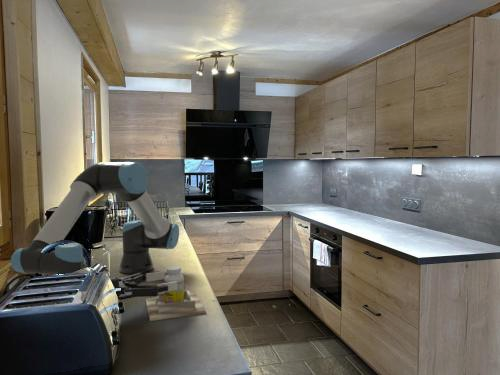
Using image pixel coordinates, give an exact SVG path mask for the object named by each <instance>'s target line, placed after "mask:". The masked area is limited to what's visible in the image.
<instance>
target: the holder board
mask: <svg viewBox="0 0 500 375" xmlns="http://www.w3.org/2000/svg"><path fill="white" fill-rule="evenodd" d="M145 304H146V308H147V313H148V320H149V321H150V322H152V321H158V320H159V321H161V320H167V319H173V318H175V319H176V318H181V317H188V316H195V315H196V316H197V315H203V314H207V311H206V310H207V309H205V306H204V305H203V304H202V302H201V300H200V299H199V297H198V295H197V294H196V293H195V292H194V293H193V292H192V293H191V292H190V289H187V290H186V289H184V301H183V302H175V303H167V304H165V298H164V292H163V293H158V296H157V297H155V296H154V297H151V298H145Z"/></svg>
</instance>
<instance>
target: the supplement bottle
mask: <svg viewBox="0 0 500 375" xmlns="http://www.w3.org/2000/svg"><path fill="white" fill-rule="evenodd" d="M181 272H182V268H181V266H179V265H178V266H177V265H175V266H174V265H173V266H168V267H167V268H166V273H167V274H165V278H164V279H163V281H164V282H163V283H168V282H174V281H177V290H174V291H168V292H163V293H164V298H165V304H167V303H175V302H183V301H184V290H185V277H184V275H183V274H182V273H181Z"/></svg>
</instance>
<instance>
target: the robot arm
mask: <svg viewBox="0 0 500 375" xmlns="http://www.w3.org/2000/svg"><path fill="white" fill-rule="evenodd" d="M148 185H149V177H148V172H147V170H146V168H145V167H144V166H143V164H141V163H139V162H135V161H134V162H132V161H123V162H122V161H117V162H116V161H115V162H114V161H113V162H112V161H111V162H110V161H109V162H107V161H102V162H97V163H95V164H93V165H89V166H88V167H87V168H85V169H84V170H83V171H82V172H81V173H79V174H78V175H77V176H76V177H75V179H74V180H73V181H72V182H71V184H70V186H69V188H70V190H69V192H68V193H67V194H66V196H65V197H64V198H63V200H62V201H61V202H60V203H59V205H58V206H57V208H55V210H54V212H53V213H52V214H51V216H50V217H49V218H48V220H46V222H45V224H44V225H43V226H42V227H41V229H40V230H39V232H38V233H37V234H36V236H35V237H34V238H33V240H32V241H31V243H30V244H29V245H28V246H27V247H20V248H18V249H16V250H15V251H14V252H12V255H11V257H10V266H11V268H12V269H13V270H14V271H15V272H17V273H23V274H26V275H27V274H29V275H30V274H34V275H36V273H38V275H49V276H50V274H58V275H59V274H66V273H70V272H73V271H77V270H80V269H83V268H84V257H85V256H84V253H83V252H84V250H83V245H82V244H81V243H78V242H67V243H68V244H64V243H63V244H64V245H58V246H56V247H55V250H53V251H51V252H50V253H46V254H43V253H41V251H42V249H43V248H44V247H46V246H47V245H49V244H51V243H53V242H56V241H60V240H63V241H64V240H65V238H66V237H67V236H68V234H69V232H70V231H71V230H72V228H73V227H74V225H75V223H76V222H77V220H78V219H79V218H80V216H81V214H82V213H83V212H84V211H85V209H86V207H87V206H88V205H89V203H90V202H91V201H94V200H96V198H97V196H98V195H100V194H115V195H116V196H117V197H118V199H120V201H121V202H124V203H127V204H128V206H129V207H130V208H131V210H132V212H133V213H134V214H135V215H136V217H137V218H138V219H137V220H132V221H127V222H124V223H123V224H122V229H121V230H122V232H121V234H122V255H121V256H122V257H121V261H120V263H119V272H120V273H122V274H131V275H127V276H123V277H120V278H119V277H117V276H111V277H110V276H109V278H110V279H111V281H112V283H113V285H114V287H115V288H121V291H117V292H116V294H117V296H118V301H119V300H120V296H121V295H124V298H125V299H126V298H127V299H128V298H140V297H141V298H142V297H143V298H144V297H145V298H146V297H151V298H152V297H154V298H155V297H157V296H158V293H164V292H168V291H174V290H177V281H174V282H168V283H164V282H163V283H157V284H156V285H154V284H152V285H151V284H141V283H144V282H147V283H148V282H154V281H161V280H164V278H165V276H166V274H165V272H166V271H164V270H162V271H156V272H150V271H152V270H153V269H154V263H153V259H152V257H151V253H150V249H156V250H157V249H160V250H174V249H175V248H176V247H177V245H178V242H179V238H180V227H179V225H178V224H177V223H171V222H170V220H169V219H168V218H167V217H165V216H162V213H160V211H159V209H158V208H157V206H156V204H155V203H154V201H153V200H152V198H151V196H150V195H149V193H148V192H147V189H148ZM146 272H148V273H146Z"/></svg>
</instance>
